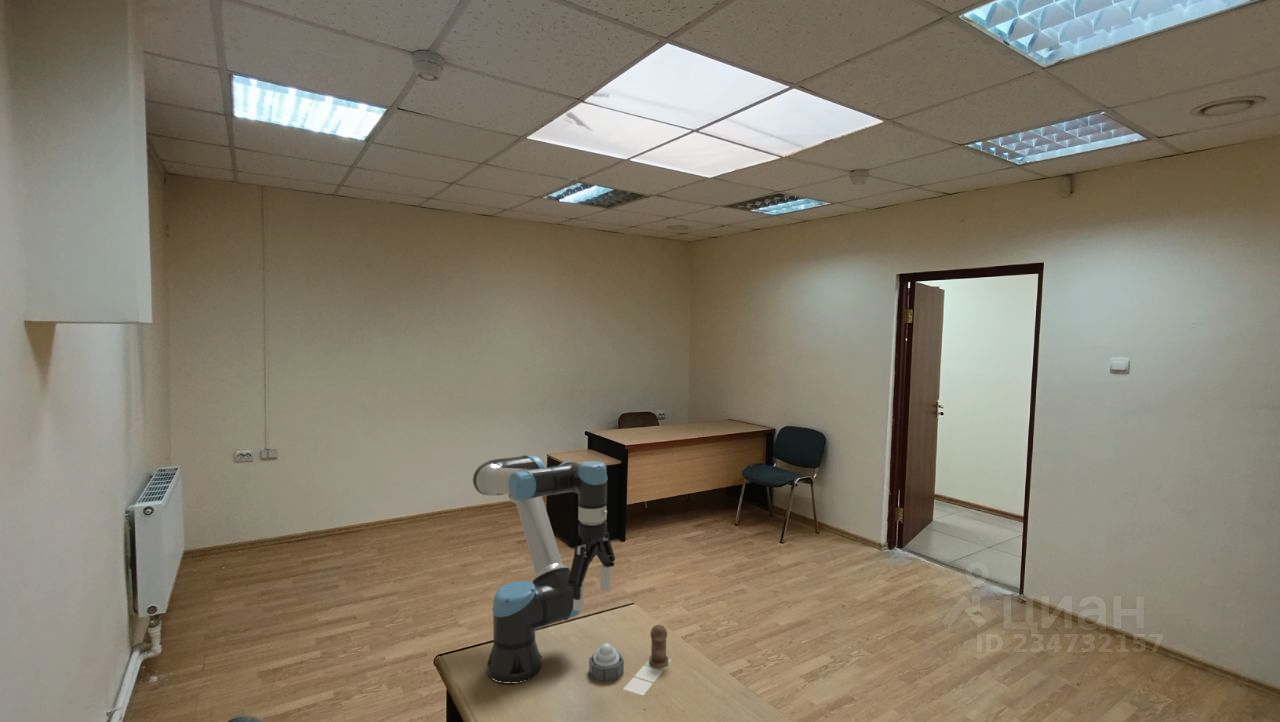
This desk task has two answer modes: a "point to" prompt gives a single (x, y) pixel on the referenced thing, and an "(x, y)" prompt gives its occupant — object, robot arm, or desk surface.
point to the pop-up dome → (606, 656)
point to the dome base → (606, 670)
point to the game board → (646, 674)
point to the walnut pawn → (658, 647)
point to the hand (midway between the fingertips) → (592, 599)
